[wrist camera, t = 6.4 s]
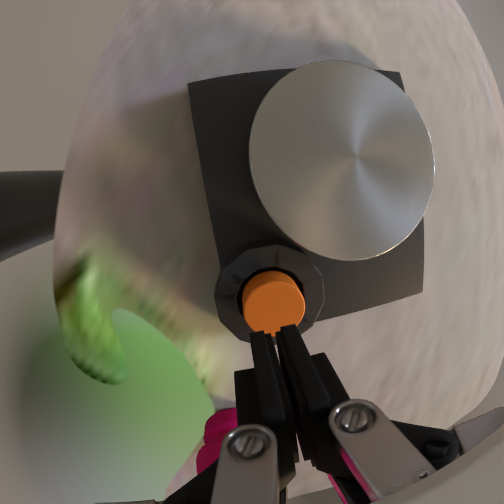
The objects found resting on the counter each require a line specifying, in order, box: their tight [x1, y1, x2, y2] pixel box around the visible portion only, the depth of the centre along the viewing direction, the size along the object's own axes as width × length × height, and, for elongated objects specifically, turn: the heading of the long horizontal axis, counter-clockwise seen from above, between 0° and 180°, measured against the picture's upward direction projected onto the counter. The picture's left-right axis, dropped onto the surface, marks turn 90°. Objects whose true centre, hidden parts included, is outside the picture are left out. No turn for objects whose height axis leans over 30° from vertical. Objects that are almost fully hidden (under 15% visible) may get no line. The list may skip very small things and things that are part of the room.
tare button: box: [242, 271, 305, 336], centre depth 15 cm, size 3×3×2 cm
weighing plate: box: [248, 60, 435, 261], centre depth 13 cm, size 11×11×1 cm
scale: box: [188, 68, 424, 345], centre depth 16 cm, size 14×16×3 cm
